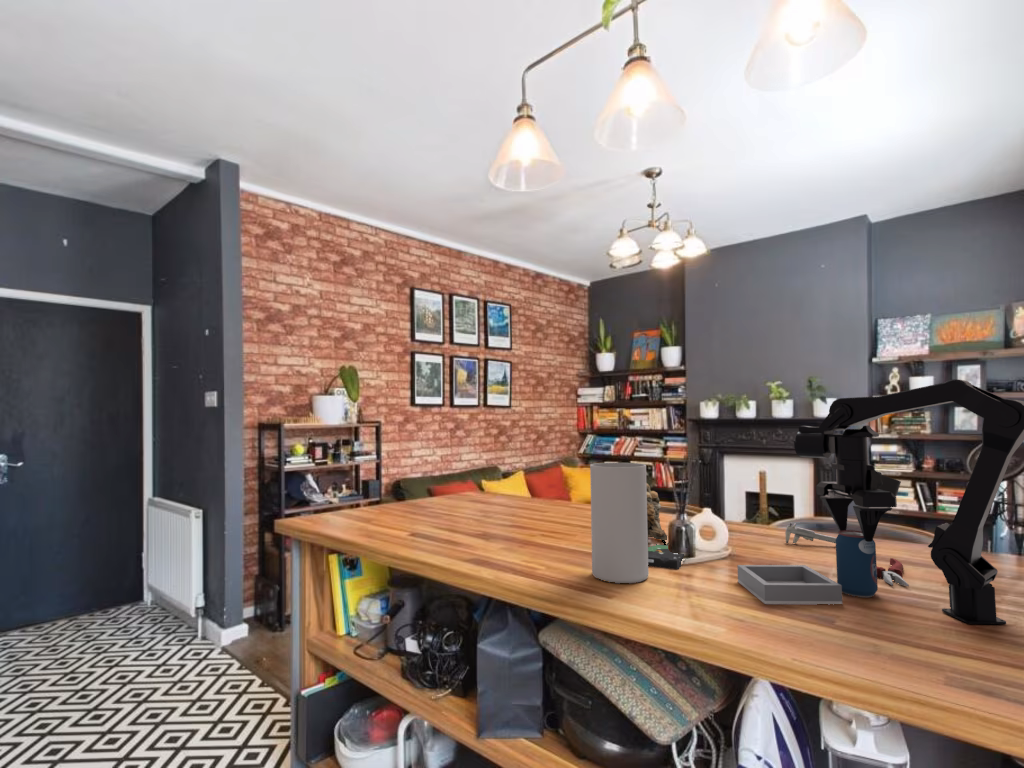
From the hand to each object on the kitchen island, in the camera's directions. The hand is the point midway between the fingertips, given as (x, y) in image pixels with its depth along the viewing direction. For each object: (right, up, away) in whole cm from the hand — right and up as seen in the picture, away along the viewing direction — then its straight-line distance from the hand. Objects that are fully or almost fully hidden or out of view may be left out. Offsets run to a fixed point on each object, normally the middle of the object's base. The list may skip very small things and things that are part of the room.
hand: (855, 536), depth 113 cm
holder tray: (-14, -11, 0) cm, 18 cm away
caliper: (+17, -14, +40) cm, 45 cm away
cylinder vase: (-45, -13, +12) cm, 49 cm away
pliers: (+12, -13, +13) cm, 22 cm away
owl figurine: (-31, -15, +47) cm, 58 cm away
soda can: (0, -11, -1) cm, 12 cm away
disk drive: (-32, -14, +27) cm, 44 cm away
